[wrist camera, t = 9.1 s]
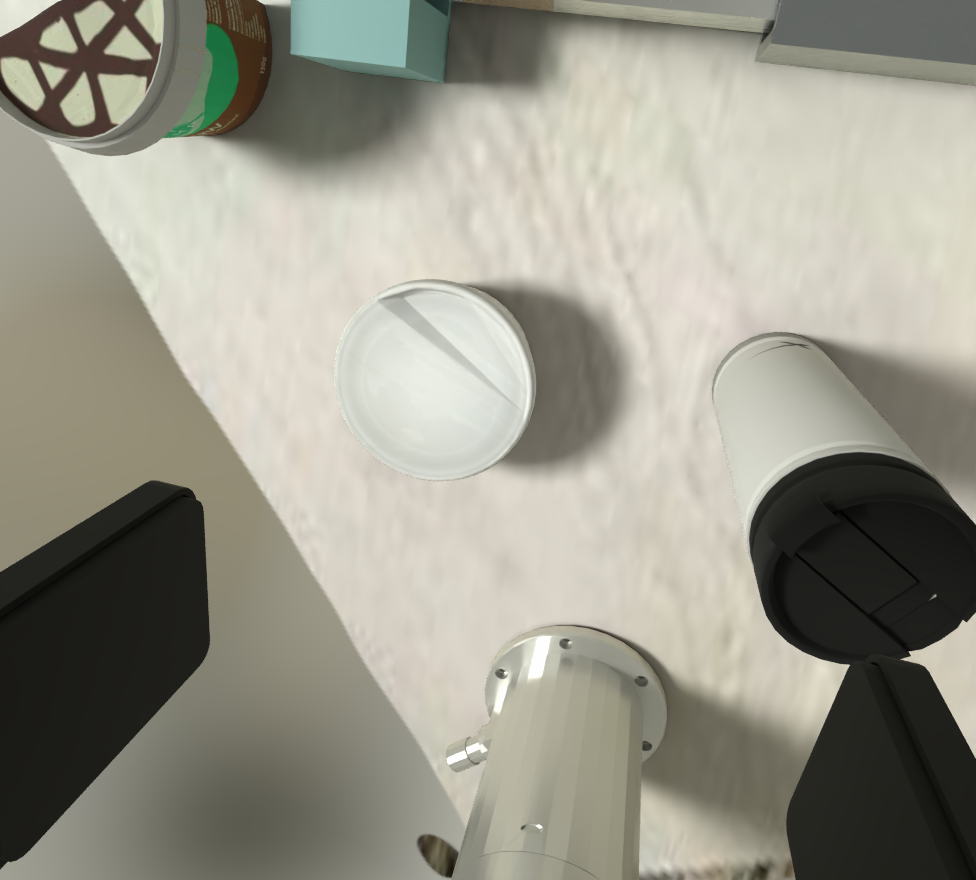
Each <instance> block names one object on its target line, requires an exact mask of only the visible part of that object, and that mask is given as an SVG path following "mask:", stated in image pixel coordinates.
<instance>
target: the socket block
mask: <svg viewBox="0 0 976 880" xmlns="http://www.w3.org/2000/svg"><path fill="white" fill-rule="evenodd" d="M451 3H452V1H447V0H291V50H290V54H292V55H296V56H299V57H302V58H305V59H309V60H312V61H315V62H318V63H321V64H325V65H328V66H331V67H334V68H338V69H341V70H344V71H350V72H358V73H366V74H374V75H382V76H390V77H398V78H406V79H414V80H422V81H430V82H438V83H444V82H445V71H446V60H447V48H448V37H449V26H450V15H451Z"/></svg>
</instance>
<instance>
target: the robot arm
mask: <svg viewBox="0 0 976 880" xmlns="http://www.w3.org/2000/svg"><path fill="white" fill-rule="evenodd" d="M204 531H205V530H204V511H203V506H202V504H201V502H199V501H198V500H196V497H195V495H194V493H193V491H192V490H190V489H189V488H185V487H181V486H177V485H173V484H169V483H164V482H160V481H149V482H147V483H145V484H143V485H142V486H140V487H138V488H137V489H135V490H133V491H132V492H131V493H129V494H127V495H125V496H124V497H122V498H120V499H119V500H117V501H116V502H114V503H112V504H111V505H109V506H107V507H106V508H104V509H102V510H101V511H99V512H98V513H96V514H94V515H93V516H91V517H90V518H88V519H86V520H85V521H83V522H81V523H80V524H78V525H76V526H75V527H73V528H72V529H70V530H68V531H67V532H65V533H63V534H62V535H60V536H59V537H57V538H55V539H54V540H52V541H50V542H49V543H47V544H46V545H44V546H42V547H41V548H39V549H37V550H36V551H34V552H33V553H31V554H29V555H28V556H26V557H24V558H23V559H21V560H19V561H18V562H16V563H15V564H13V565H11V566H10V567H8V568H6V569H5V570H3V571H1V572H0V869H1V868H2V867H3V866H4V865H5V864H6V863H7V862H8V861H9V862H12V861H16V860H18V859H19V858H21V857H23V856H24V855H25V854H26V853H27V852H28V851H29V850H30V849H31V848H32V847H33V846H34V845H35V844H36V843H37V842H38V840H40V838H41V837H42V836H43V835H44V834H45V833H46V832H47V831H48V830H49V829H50V828H51V826H52V825H53V824H54V823H55V822H56V821H57V820H58V819H59V818H60V817H61V816H62V815H63V814H64V812H65V811H66V810H67V809H68V808H69V807H70V806H71V805H72V804H73V803H74V802H75V801H76V799H77V798H78V797H79V796H80V795H81V794H82V793H83V792H84V791H85V790H86V788H87V787H88V786H89V785H90V784H91V783H92V782H93V781H94V780H95V779H96V778H97V777H98V776H99V774H100V773H101V772H102V771H103V770H104V769H105V768H106V767H107V766H108V765H109V764H110V762H111V761H112V760H113V759H114V758H115V757H116V756H117V755H118V754H119V753H120V752H121V751H122V749H123V748H124V747H125V746H126V745H127V744H128V743H129V742H130V741H131V740H132V739H133V738H134V737H135V735H136V734H137V733H138V732H139V731H140V730H141V729H142V728H143V727H144V726H145V725H146V724H147V722H148V721H149V720H150V719H151V718H152V717H153V716H154V715H155V714H156V713H157V712H158V710H159V709H160V708H161V707H162V706H163V705H164V704H165V703H166V702H167V701H168V699H169V698H170V697H171V696H172V695H173V694H174V693H175V692H176V691H177V690H178V689H179V688H180V687H181V686H182V684H183V683H184V682H185V681H186V680H187V679H188V678H189V677H190V676H191V675H192V674H193V673H194V671H195V670H196V669H197V668H198V667H199V666H200V665H201V663H202V662H203V660H204V658H205V657H206V654H207V652H208V649H209V645H210V633H209V615H208V614H209V612H208V591H207V571H206V552H205V532H204ZM485 703H486V707H487V710H488V714H489V717H490V721H489V724H487V725H485V726H482V727H481V728H480V730H479V731H478V735H475V736H473V737H467V738H465V739H463V740H460V741H458V742H456V743H453V744H451V745H450V746H448V748H447V751H446V758H447V761H448V764H449V766H450V767H451V769H452V770H453V771H455V772H461V771H463V770H465V769H468V768H470V767H473V766H475V765H478V764H479V763H480V762H482V761H484V760H486V763H485V766H484V770H483V773H482V776H481V780H480V783H479V787H478V790H477V794H476V797H475V800H474V804H473V807H472V811H471V814H470V818H469V821H468V825H467V828H466V831H465V835H464V839H463V842H462V845H461V849H460V852H459V855H458V859H457V862H456V866H455V869H454V873H453V876H452V879H451V880H639V849H640V814H641V778H642V763H643V762H644V761H646V760H647V759H648V758H650V756H651V755H652V754H653V753H654V752H655V751H656V749H657V748H658V747H659V745H660V743H661V741H662V739H663V737H664V734H665V729H666V724H667V704H666V698H665V692H664V690H663V687H662V685H661V682H660V680H659V678H658V676H657V675H656V673H655V672H654V670H653V669H652V668H651V666H650V665H649V664H648V663H647V662H646V661H645V660H644V659H643V658H642V657H641V656H640V655H639V654H638V653H637V652H636V651H635V650H633V649H632V648H630V647H629V646H627V645H626V644H625V643H623V642H621V641H619V640H617V639H615V638H613V637H611V636H609V635H607V634H604V633H601V632H598V631H595V630H592V629H588V628H581V627H575V626H551V627H545V628H539V629H535V630H533V631H530V632H527V633H525V634H522V635H520V636H519V637H517V638H515V639H514V640H512V641H511V642H509V643H508V644H507V645H506V646H505V647H504V648H503V649H502V650H501V651H500V652H499V653H498V655H497V657H496V658H495V660H494V661H493V663H492V666H491V669H490V671H489V674H488V677H487V681H486V687H485ZM786 825H787V836H788V841H789V847H790V852H791V857H792V862H793V867H794V873H795V878H796V880H976V758H975V757H974V755H973V753H972V751H971V749H970V747H969V745H968V744H967V742H966V740H965V738H964V736H963V734H962V732H961V731H960V729H959V727H958V725H957V723H956V721H955V719H954V717H953V716H952V714H951V712H950V710H949V708H948V706H947V704H946V703H945V701H944V699H943V697H942V695H941V693H940V691H939V690H938V688H937V686H936V684H935V682H934V680H933V678H932V676H931V675H930V673H929V671H928V670H927V669H926V668H925V667H924V666H922V665H920V664H916V663H912V662H908V661H904V660H900V659H896V658H891V657H887V656H883V655H879V654H872V655H870V656H869V657H868V658H867V659H866V661H865V662H860V661H854V662H853V663H852V664H851V665H850V666H849V668H848V670H847V672H846V675H845V677H844V679H843V681H842V684H841V686H840V688H839V691H838V693H837V695H836V698H835V700H834V702H833V704H832V707H831V709H830V711H829V714H828V716H827V718H826V721H825V723H824V725H823V727H822V730H821V732H820V734H819V737H818V739H817V741H816V743H815V746H814V748H813V750H812V753H811V755H810V757H809V760H808V762H807V764H806V766H805V769H804V771H803V773H802V776H801V778H800V780H799V783H798V785H797V787H796V789H795V792H794V794H793V796H792V799H791V801H790V804H789V807H788V812H787V821H786Z"/></svg>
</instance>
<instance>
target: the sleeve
mask: <svg viewBox="0 0 976 880" xmlns="http://www.w3.org/2000/svg"><path fill="white" fill-rule="evenodd" d="M755 61H756V62H765V63H774V64H784V65H793V66H802V67H811V68H820V69H829V70H838V71H847V72H857V73H866V74H875V75H884V76H893V77H902V78H911V79H920V80H929V81H939V82H948V83H957V84H966V85H975V86H976V0H780V4H779V8H778V12H777V16H776V20H775V24H774V28H773V30H772V31H771V32H770V34H768V33H762V35H761V39H760V43H759V47H758V51H757V55H756V59H755Z"/></svg>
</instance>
